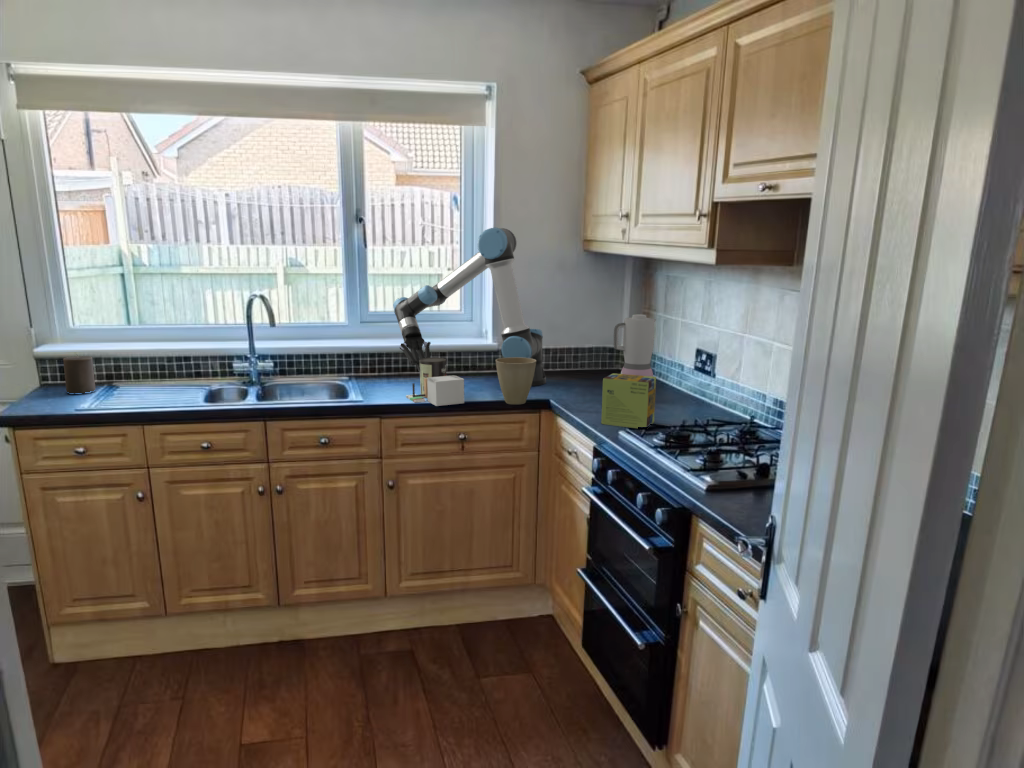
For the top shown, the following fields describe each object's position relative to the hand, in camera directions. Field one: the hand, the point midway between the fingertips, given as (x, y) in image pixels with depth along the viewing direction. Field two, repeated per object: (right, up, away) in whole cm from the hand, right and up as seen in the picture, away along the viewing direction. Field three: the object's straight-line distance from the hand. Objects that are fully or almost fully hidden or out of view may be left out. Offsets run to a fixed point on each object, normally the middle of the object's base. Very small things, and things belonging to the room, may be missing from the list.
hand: (425, 377), depth 273 cm
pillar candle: (-133, -6, -4) cm, 133 cm away
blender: (+79, -8, -10) cm, 80 cm away
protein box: (+72, -16, -44) cm, 86 cm away
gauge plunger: (+6, -8, -14) cm, 17 cm away
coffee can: (+4, -7, -5) cm, 10 cm away
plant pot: (+35, -10, -16) cm, 40 cm away
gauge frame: (+5, -9, -13) cm, 16 cm away
